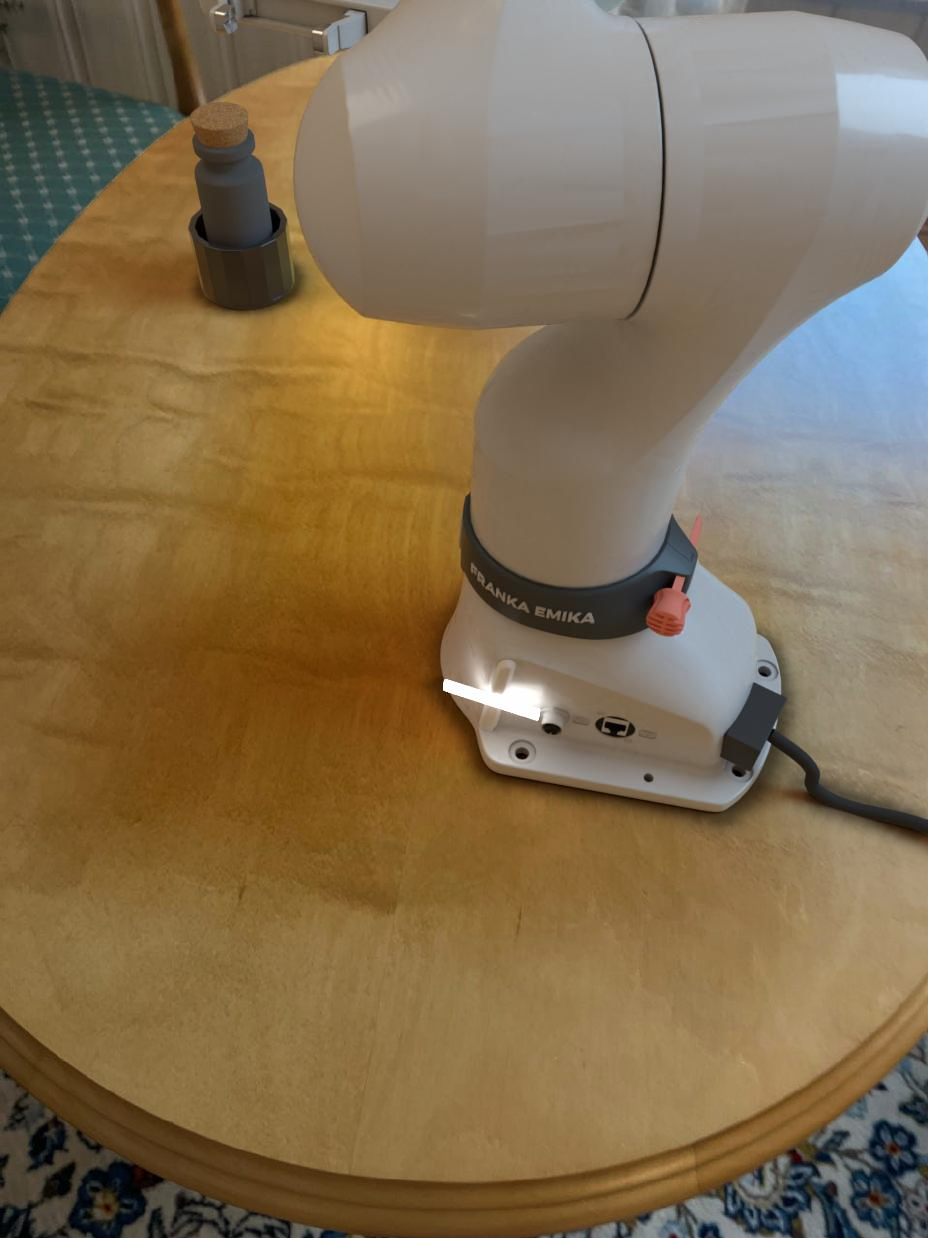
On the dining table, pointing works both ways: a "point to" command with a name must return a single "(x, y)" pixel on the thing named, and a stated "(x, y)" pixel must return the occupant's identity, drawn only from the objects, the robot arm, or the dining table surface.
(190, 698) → the dining table surface
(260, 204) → the bottle
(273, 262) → the tube
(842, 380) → the dining table surface
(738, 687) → the robot arm
